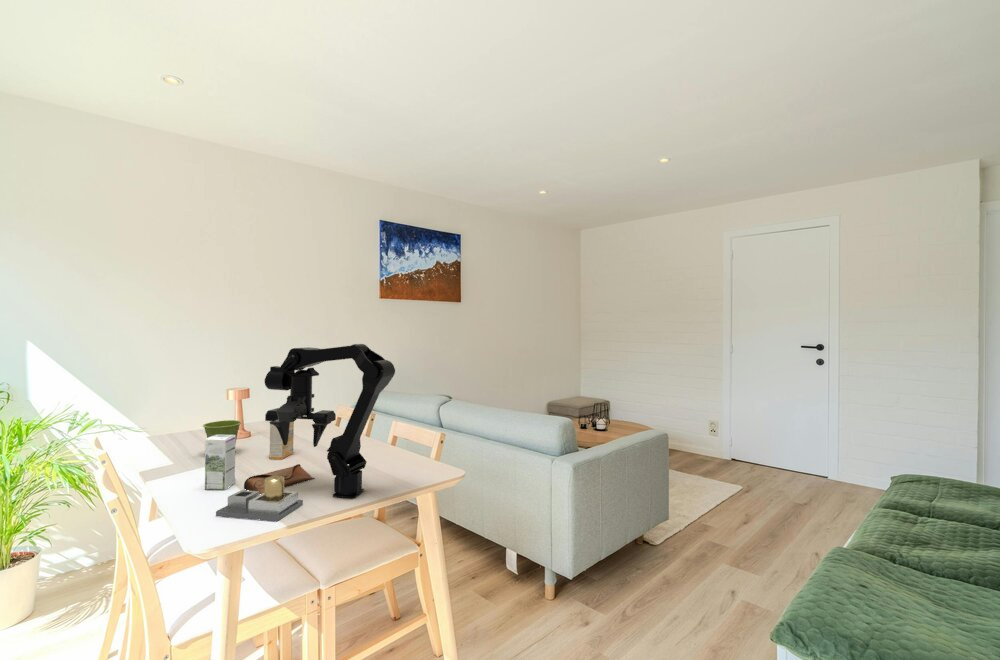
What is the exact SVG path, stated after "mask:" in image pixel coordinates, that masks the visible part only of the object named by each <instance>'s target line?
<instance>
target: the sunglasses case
mask: <svg viewBox="0 0 1000 660" xmlns="http://www.w3.org/2000/svg"><path fill="white" fill-rule="evenodd" d="M271 476H284V487H285V488H288V487H290V486H291V487H292V486H295V485H298V484H301V483H305V482H308V480H309V481H312V480H314V479H315V477H313V476H311V475H310V474H309V472H307V471H306V470H305V469H304V468H303V467H302V466H301V464H295V465H293V466H290V467H285V468H281V469H277V470H273V471H270V472H267V473H262V474H256V475H252V476H249V477H248V478H246V479H245V481H244V484H243V489H246V490H249V491H259V495H260V494H263V493H265V478H267V477H271ZM304 481H305V482H304ZM297 483H298V484H297ZM294 484H295V485H294ZM287 486H288V487H287Z"/></svg>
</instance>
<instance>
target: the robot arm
mask: <svg viewBox="0 0 1000 660" xmlns="http://www.w3.org/2000/svg"><path fill="white" fill-rule="evenodd" d="M349 359H350V360H351V359H352V360H353V361H354V363H355V364H356V366H357V368H358V369H359V371H361V372H362V373H363V374H362V378H361V383H362V384H361V385H362V389H361V392H360V394H359V397H358V399H357V401H356V403H355V405H354V407H353V410H352V412H351V415H350V418H349V420H348V421H347V424H346V427H345V428H344V431H343V433H342V434H341V435H338V436H335V437H332V439H331V441H330V445H329V448H328V449H326V452H327V455H326V457H327V458H326V459H327V461H328V463H329V466H330V469H331V473H332V476H335V477H334V479H333V482H334V483H333V492H334V493H333V494H332V497H334V498H344V499H345V498H347V499H355V498H357V497H358V496H359V495H360V493H361V492H362V493H363V492H364V491H365V488H363V470H362V469H365V468H366V465H367V462H368V461H367V460H366V459H365V458H364V456H363V455H362V454H361V452H360V451H361V447H362V445H361V436H362V434H363V433H364V430H365V427H366V426H367V423H368V421H369V419H370V416H371V414H372V412H373V410H374V408H375V404H376V402H377V400H378V398H379V395H380V394H381V393H382V392H383V391H384V389H385V388H386V387H387V386H389V384H390V382H391V381H392V379H393V377H394V376H395V374H396V368H395V365H394V364H393V362H392V361H390V360H387V359H385V358H384V357H383V356H382V355H380V354H379V353H377V352H375V351H374V350H372V349H371V348H370V347H368V345H366V344H363V343H354V344H351V345H345V346H344V345H343V346H338V347H337V346H335V347H328V348H327V347H326V348H318V347H310V346H309V347H295V348H291V349H290V350H289V351H288V353H287V355H286V358H285V359H284V361H283V362H282V363H281V365H280V366H279V365H274V366H270V368H269V369H270V370H269V371H268V372H267V374H266V375H265V378H264V385H265V387H266V389H268V390H273V391H274V390H275V391H289V390H290V391H289V393H290V395H287V397H286V402H285V403H283V404H282V405H280V407H277V408H273V409H269V410H267V411H266V412H265V415H264V416H265V419H264V420H265V421H266V422H268V423H269V425H270V424H273V425H274V426H275V427H276V428H277V429H278V431H279V434H280V436H281V439H282V442H283V444H284V445H287V443H288V436H289V426H290V422H294V423H295V421H297V420H311V421H313V423H312V424H311V426H312V429H313V439H312V441H313V442H312V445H313V448H315V447H317V446H318V445H319V442H320V440H321V438H322V435H323V433H324V431H325V429H326V428H327V426H328V425H329V424H332V422H333V421H336V417H337V415H336V413H335V411H334V410H329V409H328V410H319V411H317V412H315V407H312V404H313V398H315V393H313V377H318V376H320V373H319V372H318V371H317V370H316V369H315V367H314V366H316V365H320V364H322V363H325V362H331V361H340V360H342V361H343V360H349ZM306 368H307V369H306ZM357 495H358V496H357ZM356 496H357V497H356Z"/></svg>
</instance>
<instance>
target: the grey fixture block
mask: <svg viewBox="0 0 1000 660" xmlns="http://www.w3.org/2000/svg"><path fill="white" fill-rule="evenodd" d="M264 494H265V493H263V494H261V495H260V494H259V491H247V490H243V489H241V490H239V491H237V492H235V493H233V494H230V495H228V496H227V504H226V506H224V507H222V508H219V509H218V510H216V511H215V517H217V516H222V517H221V518H229V517H235V518H234V519H240V518H248V519H247V520H252V519H260V520H259V521H263V520H267V522H275V521H276V522H279V521H280V520H282V519H283V518H285V517H286V516H288V515H289V514H291V513H292V512H293V511H295V510H297V509H298V508H300V507H301V506H303V504H304V499H299V492H298V491H290V490H289V491H288V490H286V491H285V490H284V498H283V499H281V500H280V501H278V502H274V501H264Z"/></svg>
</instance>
